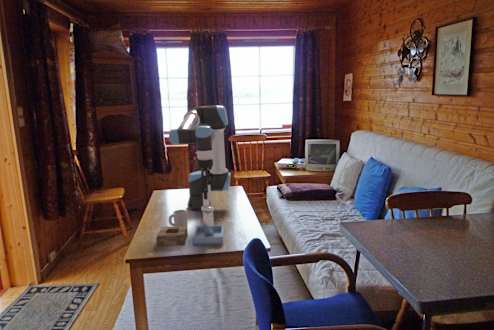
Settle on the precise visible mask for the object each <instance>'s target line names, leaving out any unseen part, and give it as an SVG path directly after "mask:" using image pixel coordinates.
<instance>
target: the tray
mask: <svg viewBox="0 0 494 330" xmlns="http://www.w3.org/2000/svg"><path fill="white" fill-rule="evenodd" d="M224 230H225V229H224V225H223V224H218V225H215V224H214V237H204V225H196V226H195V229H194V234H193V237H192V240H193V241H192V244H193V247H198V246H199V247H200V246H201V247H202V246H219V245H220V246H222V245H223V244H224V233H225V231H224Z"/></svg>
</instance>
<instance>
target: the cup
mask: <svg viewBox="0 0 494 330" xmlns="http://www.w3.org/2000/svg"><path fill="white" fill-rule="evenodd" d="M168 223H169V226H187V228H188V224H189V223H188V211H187V210H186V209H178V210H174V211H173V213H172V214H170V215H169V217H168Z"/></svg>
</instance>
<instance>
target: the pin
mask: <svg viewBox="0 0 494 330" xmlns="http://www.w3.org/2000/svg"><path fill="white" fill-rule="evenodd" d="M200 211H201V212H202V221H203V225H202V226H204V237H214V225H215V224H214V221H215V220H214V211H215V206H214V204H213V205H212V204H211V205H209V206H202V207H201V210H200Z"/></svg>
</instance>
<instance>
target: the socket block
mask: <svg viewBox="0 0 494 330" xmlns="http://www.w3.org/2000/svg"><path fill="white" fill-rule="evenodd" d="M188 231H189V230H188V227H187V226H171V225H169V226H161V228H160V229H159V231H158V233H157V235H156V247H169V246H171V247H173V246H185V244H186V242H187V238H188V235H189V233H188Z"/></svg>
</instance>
